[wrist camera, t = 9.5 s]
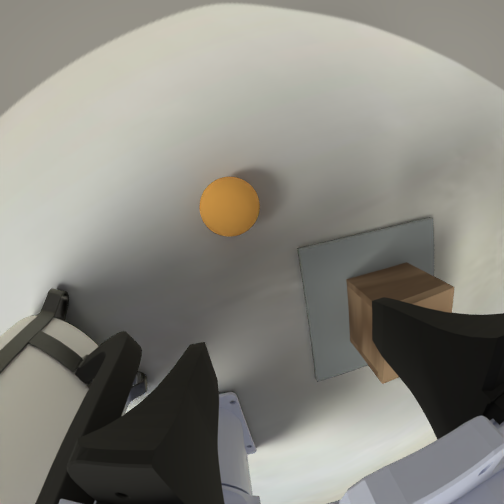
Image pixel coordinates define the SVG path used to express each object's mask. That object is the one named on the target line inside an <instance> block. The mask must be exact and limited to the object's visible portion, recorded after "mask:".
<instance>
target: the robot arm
mask: <svg viewBox="0 0 504 504" xmlns="http://www.w3.org/2000/svg"><path fill="white" fill-rule="evenodd" d="M372 341H373V342H374V344H375V346H376V348H377V349H378V351H379V352H380V354H381V356H382V357H383V358H384V359H385V361H386V362H387V363H388V364H389V365H390V367H391V368H392V369H393V370H394V371H395V373H396V374H397V375H398V376H399V377H400V378H401V380H402V381H403V382H404V383H405V384H406V386H407V387H408V388H409V389H410V391H411V392H412V394H413V395H414V397H415V398H416V400H417V401H418V403H419V405H420V406H421V408H422V410H423V412H424V413H425V415H426V417H427V419H428V421H429V423H430V425H431V427H432V429H433V431H434V433H435V435H436V437H437V439H438V440H436V441H435V442H433V443H431V444H429V445H428V446H426V447H424V448H422V449H420V450H418V451H416V452H414V453H412V454H410V455H408V456H406V457H404V458H402V459H400V460H398V461H396V462H394V463H391V464H389V465H387V466H385V467H383V468H381V469H379V470H377V471H375V472H373V473H371V474H369V475H367V476H365V477H364V478H362V479H361V480H360V481H358V482H357V483H356V484H354V485H353V486H351V487H350V488H349V489H348V490H347V492H346V493H345V494H344V496H343V497H342V499H341V500H338V501H335V502H331V503H328V504H504V313H503V314H492V315H468V314H457V313H449V312H443V311H439V310H434V309H429V308H425V307H421V306H417V305H414V304H410V303H407V302H403V301H399V300H395V299H391V298H386V297H383V298H380V299H377V300H373V301H372ZM231 401H234V402H231ZM255 452H256V447H255V444H254V442H253V439H252V436H251V434H250V431H249V428H248V426H247V423H246V420H245V417H244V414H243V412H242V409H241V406H240V403H239V400H238V397H237V395H236V394H235V393H233V392H228V393H223V394H219V391H218V381H217V377H216V374H215V371H214V369H213V366H212V363H211V360H210V357H209V354H208V351H207V348H206V345H205V342H202V343H197V344H191V345H190V346H189V347H188V348H187V350H186V351H185V352H184V354H183V355H182V357H181V358H180V359H179V361H178V362H177V363H176V365H175V366H174V367H173V369H172V370H171V371H170V373H169V374H168V375H167V376H166V377H165V378H164V379H163V381H162V382H161V383H160V384H159V385H158V386H157V387H156V388H155V390H154V391H153V392H151V393H150V394H149V395H148V396H147V397H146V398H145V399H144V400H143V401H142V402H140V403H139V404H138V405H137V406H135V407H134V408H133V409H131V410H130V411H129V412H127V413H126V414H124V415H123V416H121V417H120V418H118V419H117V420H115V421H113V422H112V423H110V424H108V425H106V426H104V427H102V428H100V429H98V430H96V431H94V432H92V433H89V434H87V435H85V436H82V437H80V438H78V439H77V441H76V444H75V446H74V449H73V451H72V453H71V456H70V458H69V461H68V463H67V471H68V473H69V475H70V477H71V478H72V479H73V480H74V481H75V483H76V484H77V485H79V486H80V487H81V488H82V489H83V490H84V491H85V492H86V493H87V494H89V495H90V496H91V497H92V498H93V499H94V500H96V501H97V502H96V504H261V503H260V497H259V496H253V495H252V487H251V480H250V473H249V465H248V457H247V454H253V453H255ZM59 504H82V503H77V502H73V501H69V500H65V499H60V501H59Z"/></svg>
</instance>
